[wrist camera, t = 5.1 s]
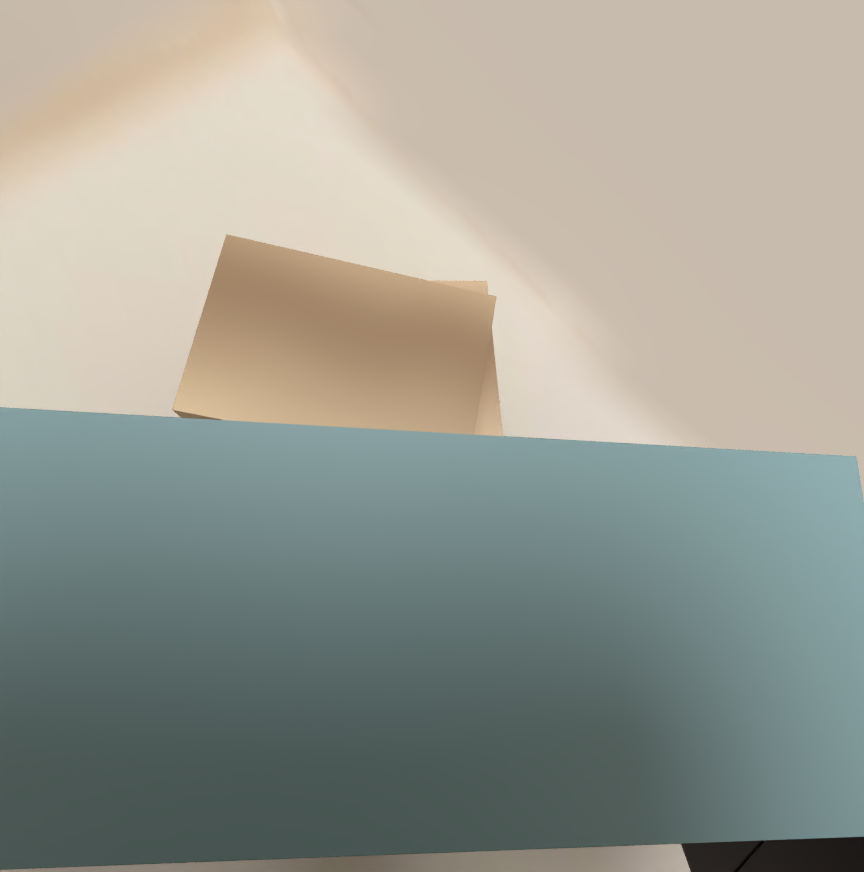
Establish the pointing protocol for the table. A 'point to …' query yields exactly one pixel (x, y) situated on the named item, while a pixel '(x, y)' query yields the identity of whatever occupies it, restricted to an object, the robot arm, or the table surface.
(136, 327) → the table surface
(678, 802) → the teal rectangular block
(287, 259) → the offcut stack
